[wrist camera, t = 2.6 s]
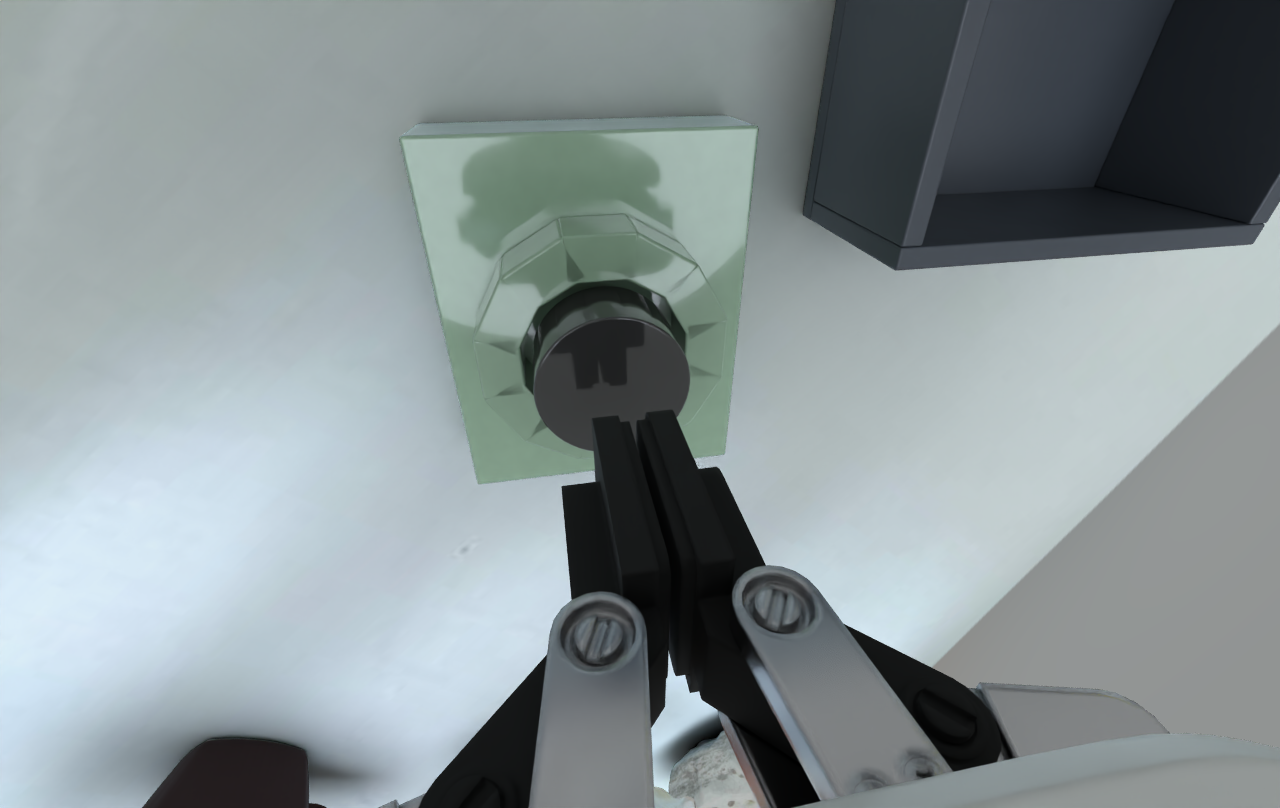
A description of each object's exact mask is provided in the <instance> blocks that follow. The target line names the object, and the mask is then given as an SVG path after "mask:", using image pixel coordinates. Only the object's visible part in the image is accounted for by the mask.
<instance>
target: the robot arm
mask: <svg viewBox="0 0 1280 808" xmlns="http://www.w3.org/2000/svg"><path fill="white" fill-rule="evenodd" d="M592 436H593V451H594V465H595V480H596V482H591V483H583V484H575V485H567V486H562V498H563V509H564V520H565V531H566V542H567V553H568V564H569V576H570V587H571V598H572V600H571V601H570V602H569V603H568V604H567V605H565V606H564V607H563V608H562V609H561V610H560V612H559V613H558V615H557V616H556V617H555V619H554V621H553V624H552V628H551V631H550V636H549V644H548V652H547V655H546V656H545V657H544V659H543V660H542V661H541V662H540V663H539V664H538V665H537V666H536V668H535V669H534V670H533V671H532V672H531V673H530V674H529V675H528V676H527V678H526V679H525V680H524V681H523V682H522V683H521V684H520V685H519V687H518V688H517V689H516V690H515V691H514V692H513V693H512V694H511V696H510V697H509V698H508V699H507V700H506V701H505V702H504V703H503V705H502V706H501V707H500V708H499V709H498V710H497V711H496V712H495V713H494V715H493V716H492V717H491V718H490V719H489V720H488V721H487V722H486V724H485V725H484V726H483V727H482V728H481V729H480V730H479V731H478V733H477V734H476V735H475V736H474V737H473V738H472V739H471V740H470V742H469V743H468V744H467V745H466V746H465V747H464V748H463V749H462V750H461V752H460V753H459V754H458V755H457V756H456V757H455V758H454V759H453V761H452V762H451V763H450V764H449V765H448V766H447V767H446V768H445V770H444V771H443V772H442V773H441V774H440V775H439V776H438V777H437V779H436V780H435V781H434V782H433V784H432V785H431V787H430V788H429V789H428V791H427V792H426V793H425V794H423V795H421V796H419V797H416V798H414V799H412V800H410V801H408V802H405V803H403V804H401V805H399V804H398V802H397V800H394V801H392V802H390V803H388V804H385V805H383V806H381V807H379V808H655V806H654V784H653V762H652V740H651V727H652V726H653V724H654V723H655V721H656V720H657V718H658V717H659V715H660V713H661V712H662V710H663V709H664V707H665V691H666V678H667V676H668V650H669V654H670V658H671V662H672V666H673V670H674V673H675V675H676V676H681V675H685V676H686V680H687V683H688V687H689V691H690V693H692V692H698V691H699V692H700V696H701V699H702V700H703V701H705V702H706V703H708V704H709V705H711V706H712V707H714V708H716V709H717V710H718V714H719V718H720V721H721V724H722V727H723V729H724V731H725V733H726V736H727V738H728V740H729V742H730V745H731V747H732V749H733V751H734V753H735V756H736V758H737V760H738V762H739V765H740V767H741V769H742V771H743V773H744V776H745V778H746V780H747V782H748V785H749V787H750V789H751V791H752V793H753V796H754V798H755V800H756V802H757V805H758V807H759V808H1280V748H1278V747H1273V746H1269V745H1265V744H1260V743H1256V742H1251V741H1247V740H1242V739H1235V738H1229V737H1222V736H1215V735H1205V734H1190V733H1177V734H1170V733H1169V732H1168V731H1167V730H1166V729H1165V727H1164V726H1163V725H1162V724H1161V723H1160V722H1159V721H1158V720H1157V719H1156V718H1155V716H1153V715H1152V714H1151V713H1149V712H1148V711H1147V710H1145V709H1144V708H1143V707H1141V706H1140V705H1138V704H1137V703H1136V702H1134V701H1132V700H1129V699H1128V698H1126V697H1123V696H1121V695H1119V694H1117V693H1114V692H1109V691H1105V690H1100V689H1087V688H1068V687H1051V686H1050V687H1049V686H1032V685H1015V684H997V683H979V684H978V686H977V688H976V689H975V688H967V687H966V686H964V685H962V684H961V683H959V682H958V681H956V680H954V679H953V678H951V677H949V676H947V675H945V674H943V673H941V672H939V671H937V670H935V669H933V668H931V667H929V666H927V665H925V664H923V663H921V662H919V661H917V660H915V659H913V658H911V657H909V656H907V655H905V654H903V653H901V652H899V651H897V650H895V649H893V648H891V647H889V646H887V645H885V644H883V643H881V642H879V641H877V640H875V639H873V638H871V637H869V636H867V635H865V634H863V633H861V632H859V631H857V630H855V629H853V628H851V627H849V626H847V625H845V624H843V623H842V621H841V620H840V619H839V617H838V616H837V615H836V613H835V612H834V611H833V609H832V608H831V606H830V605H829V604H828V602H827V601H826V600H825V598H824V597H823V596H822V594H821V593H820V592H819V590H818V589H817V588H816V587H815V586H814V585H813V584H812V583H811V582H810V581H809V580H808V579H807V578H805V577H804V576H802V575H800V574H799V573H797V572H796V571H793V570H790V569H787V568H784V567H780V566H770V565H767V566H766V565H765V563H764V561H763V558H762V556H761V554H760V552H759V550H758V548H757V546H756V544H755V542H754V539H753V537H752V535H751V533H750V531H749V529H748V527H747V525H746V523H745V521H744V518H743V516H742V514H741V512H740V510H739V508H738V506H737V504H736V502H735V499H734V497H733V495H732V493H731V491H730V489H729V487H728V485H727V483H726V481H725V478H724V476H723V474H722V473H721V471H720V469H719V468H717V467H711V468H703V469H698V467H697V465H696V463H695V460H694V458H693V456H692V453H691V451H690V448H689V446H688V444H687V441H686V439H685V437H684V434H683V432H682V430H681V427H680V425H679V422H678V420H677V418H676V415H675V413H674V411H673V410H672V409H671V410H662V411H653V412H646V414H645V419H643V420H637V421H636V442H635V439H634V435H633V432H632V428H631V425H630V422H629V421H625V422H620V419H619V416H618V415H616V416H606V417H597V418H592Z"/></svg>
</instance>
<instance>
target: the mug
mask: <svg viewBox="0 0 1280 808" xmlns="http://www.w3.org/2000/svg"><path fill="white" fill-rule="evenodd" d="M142 808H326V807H324V806H322V805H319V804H312V803H309V777H308V759H307V754H306V751H305V750H303V749H300V748H296V747H293V746H290V745H286V744H282V743H277V742H271V741H265V740H255V739H237V738H236V739H210V740H207V741H205V742H204V743H202V744H200V745H199V746H197V747H196V748H194V749H193V750H191V751H190V752H189V753H188V754H187V755H186V756H185V757H184V758H183V759H182V760H181V761H180V762H179V763H178V765H177V766H176V767H175V768H174V769H173V771H172V772H171V773H170V774H169V775H168V777H167V778H166V779H165V780H164V781H163V783H162V784H161V785H160V786H159V787H158V789H157V790H156V791H155V792H154V794H153V795H152V796H151V797H150V799H149V800H148V801H147V802H146V804H145V805H144V806H143V807H142Z"/></svg>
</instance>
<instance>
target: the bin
mask: <svg viewBox="0 0 1280 808" xmlns="http://www.w3.org/2000/svg"><path fill="white" fill-rule="evenodd" d="M1279 202H1280V0H836V6H835V12H834V19H833V25H832V31H831V38H830V44H829V50H828V57H827V63H826V70H825V76H824V82H823V89H822V95H821V102H820V108H819V114H818V121H817V127H816V133H815V140H814V146H813V153H812V159H811V165H810V172H809V178H808V185H807V191H806V197H805V204H804V210H803V215H804V216H805V217H807V218H809V219H810V220H812V221H814V222H816V223H817V224H819V225H821V226H822V227H824V228H826V229H827V230H829V231H831V232H832V233H834V234H836V235H837V236H839V237H841V238H842V239H844V240H846V241H847V242H849V243H851V244H852V245H854V246H856V247H857V248H859V249H861V250H862V251H864V252H866V253H867V254H869V255H871V256H872V257H874V258H876V259H877V260H879V261H881V262H882V263H884V264H886V265H887V266H889V267H891V268H892V269H894V270H910V269H923V268H937V267H950V266H964V265H978V264H991V263H1005V262H1018V261H1032V260H1046V259H1059V258H1073V257H1086V256H1100V255H1114V254H1127V253H1141V252H1154V251H1168V250H1182V249H1195V248H1209V247H1222V246H1236V245H1250V244H1253V243H1254V242H1255V240H1256V238H1257V237H1258V235H1259V234H1260V232H1261V230H1262V229H1263V227H1264V225H1265V224H1263V223H1266V222H1267V221H1268V220H1269V218H1270V216H1271V215H1272V213H1273V212H1274V210H1275V208H1276V207H1277V205H1278V204H1279Z"/></svg>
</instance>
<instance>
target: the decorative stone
mask: <svg viewBox="0 0 1280 808" xmlns="http://www.w3.org/2000/svg"><path fill="white" fill-rule="evenodd" d="M669 794H670V795H671V796H672V797H674V798H676V799H680V798H683V797H687V796H689V797H692V798H693V799H694V801H695V805H696V806H697V808H759V807H758V805H757V802H756V800H755V798H754V796H753V793H752V791H751V789H750V787H749V785H748V782H747V780H746V778H745V776H744V773H743V771H742V769H741V767H740V765H739V762H738V760H737V758H736V756H735V753H734V751H733V749H732V747H731V745H730V742H729V740H728V738H727V736H726V733H725V731H722V732H721V733H720V734H719V736H718V738H716V739H709V740H702V741H701V742H699V743H698V745H697V746H696V748H692V749H690V750H689V752H688V753H687V754H686V755H685V756H684V757H683V758H682V759H681V760H680V761H679V762H677V763H676V764H675V765H674V767H673V769H672V771H671V775H670V782H669Z"/></svg>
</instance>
